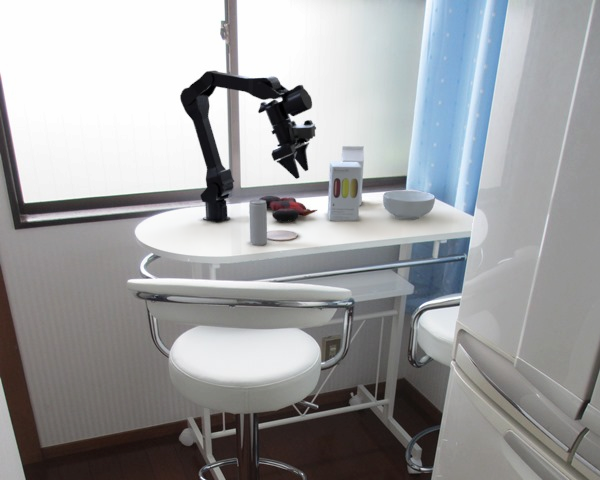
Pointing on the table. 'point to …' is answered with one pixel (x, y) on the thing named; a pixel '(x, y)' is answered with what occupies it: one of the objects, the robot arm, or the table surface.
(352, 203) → the supplement box
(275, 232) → the cork coaster
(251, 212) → the beverage can
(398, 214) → the cereal bowl
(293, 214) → the toy motorcycle
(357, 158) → the milk carton
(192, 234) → the table surface
